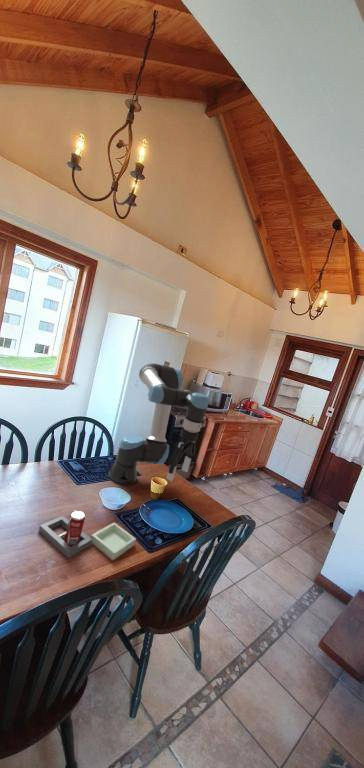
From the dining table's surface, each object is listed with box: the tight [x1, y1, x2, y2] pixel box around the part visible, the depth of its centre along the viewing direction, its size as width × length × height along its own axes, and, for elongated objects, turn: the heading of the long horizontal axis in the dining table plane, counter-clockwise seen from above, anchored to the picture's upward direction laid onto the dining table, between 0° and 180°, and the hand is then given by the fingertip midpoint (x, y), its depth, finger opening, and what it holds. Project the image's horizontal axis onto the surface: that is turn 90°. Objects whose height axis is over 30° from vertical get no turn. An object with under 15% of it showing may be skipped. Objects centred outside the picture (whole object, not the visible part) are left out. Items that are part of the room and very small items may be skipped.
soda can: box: [64, 510, 86, 547], centre depth 111 cm, size 5×5×12 cm
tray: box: [90, 522, 137, 561], centre depth 117 cm, size 12×12×3 cm
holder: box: [38, 515, 92, 559], centre depth 113 cm, size 17×10×2 cm, turn 59°
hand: (177, 475), depth 133 cm, fingers open, 13 cm apart
